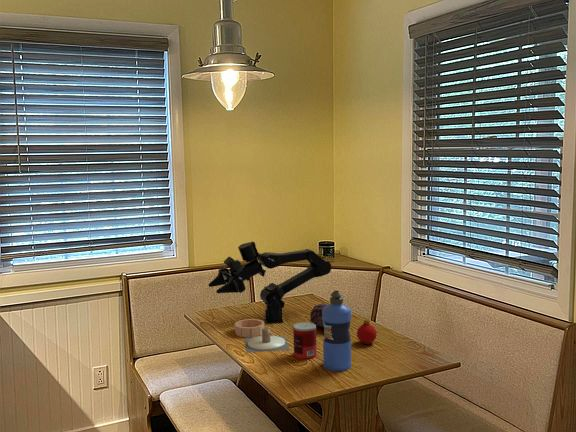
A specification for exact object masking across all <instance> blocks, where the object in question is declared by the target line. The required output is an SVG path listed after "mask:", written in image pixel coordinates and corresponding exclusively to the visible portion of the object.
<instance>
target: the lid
mask: <svg viewBox="0 0 576 432" xmlns="http://www.w3.org/2000/svg"><path fill="white" fill-rule="evenodd" d="M278 336H279V335H271V328H268V327H267V328H266V327H265V328H264V329H262V335H260V336H257V337H250V338H251V339H250V340H248V346H249V347H250V348H252V349H255V350H274V349H278V348H281V347H283V346H284V345H285V340H284V339H283V338H281V337H278Z"/></svg>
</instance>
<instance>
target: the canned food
mask: <svg viewBox="0 0 576 432" xmlns="http://www.w3.org/2000/svg"><path fill="white" fill-rule="evenodd" d="M292 328H293V331H292V332H293V336H292V337H293V357H294V358H295V359H298V360H303V361H304V360H305V361H306V360H312V359H315V358H316V356H317V325H315V324H313V322H309V321H308V322H305V321H304V322H297V323H295V324H293V327H292Z"/></svg>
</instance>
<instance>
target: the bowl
mask: <svg viewBox="0 0 576 432" xmlns="http://www.w3.org/2000/svg"><path fill="white" fill-rule="evenodd" d="M265 324H266V323H265V321H264V320H261V319H257V318H246V319H240V320H238V321H236V322H235V323H234V333H235V335H236V336H238V337H239V338H254V337H258V336H262V329H264V328H266V327H265Z"/></svg>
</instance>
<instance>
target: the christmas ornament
mask: <svg viewBox="0 0 576 432" xmlns="http://www.w3.org/2000/svg"><path fill="white" fill-rule="evenodd" d="M377 333H378V332H377V330H376V328H375V327H374V326H373V325H372V324H371V323H370V318H369V317H368V316H365V318H364V319H363V323H362V324H361V325H360V326H358V328H357V330H356V337H357V339H358V341H360V342H361V343H362V344H365V345H369V344H371V343H374V342H375V340H376V339H377Z"/></svg>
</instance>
